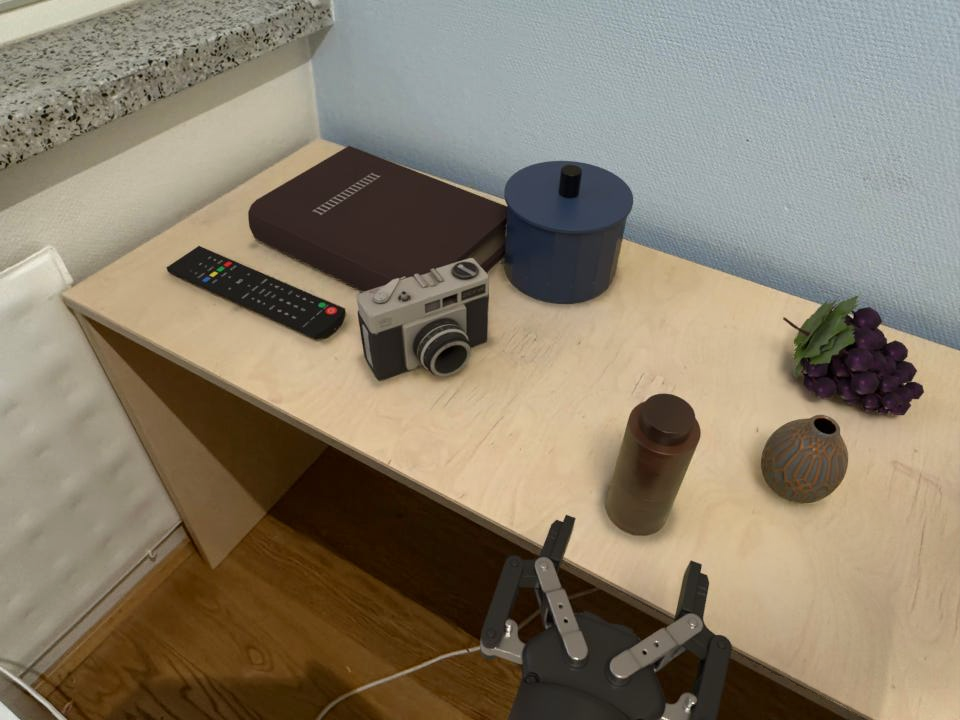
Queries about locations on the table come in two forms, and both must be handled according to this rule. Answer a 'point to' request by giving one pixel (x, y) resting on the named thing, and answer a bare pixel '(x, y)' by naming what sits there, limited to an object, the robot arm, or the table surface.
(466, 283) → the camera
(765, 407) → the table surface
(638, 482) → the pepper mill
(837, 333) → the fruit
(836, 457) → the vase
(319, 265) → the brown slab
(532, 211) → the pot lid
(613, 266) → the pot
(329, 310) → the remote control
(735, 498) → the table surface
